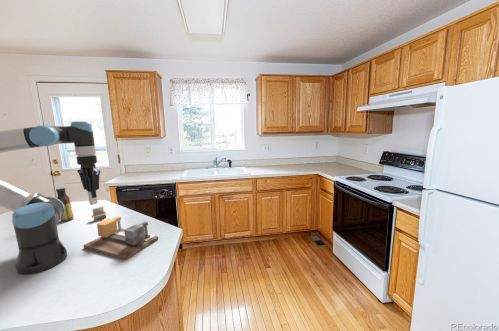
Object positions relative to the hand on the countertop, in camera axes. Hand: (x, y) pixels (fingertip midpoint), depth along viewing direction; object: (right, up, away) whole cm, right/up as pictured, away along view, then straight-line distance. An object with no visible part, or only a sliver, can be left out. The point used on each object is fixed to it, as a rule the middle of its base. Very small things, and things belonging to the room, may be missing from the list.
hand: (93, 203), depth 106 cm
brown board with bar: (+16, -18, -4) cm, 24 cm away
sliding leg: (+8, -14, +1) cm, 17 cm away
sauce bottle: (-34, -14, +25) cm, 45 cm away
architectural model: (-14, -14, +26) cm, 33 cm away
